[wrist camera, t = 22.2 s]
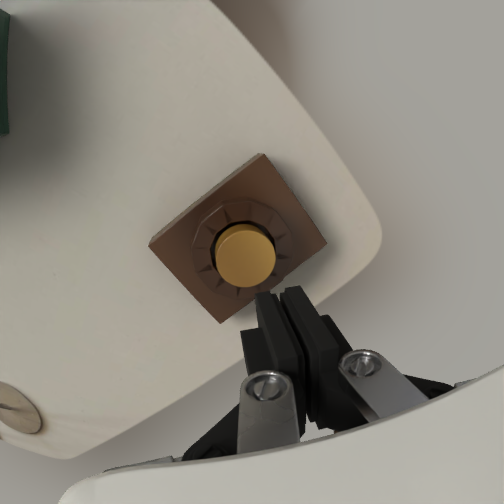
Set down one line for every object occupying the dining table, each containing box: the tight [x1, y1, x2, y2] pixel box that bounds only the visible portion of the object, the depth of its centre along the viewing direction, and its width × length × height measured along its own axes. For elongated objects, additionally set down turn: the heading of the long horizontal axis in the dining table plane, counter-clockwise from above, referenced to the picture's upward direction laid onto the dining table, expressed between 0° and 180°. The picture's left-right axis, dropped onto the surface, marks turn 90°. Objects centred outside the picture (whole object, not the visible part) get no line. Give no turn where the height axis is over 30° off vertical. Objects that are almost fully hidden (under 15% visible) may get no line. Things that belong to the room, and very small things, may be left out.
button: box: [215, 224, 276, 287], centre depth 20 cm, size 4×4×2 cm
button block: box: [148, 153, 327, 324], centre depth 23 cm, size 10×8×4 cm
